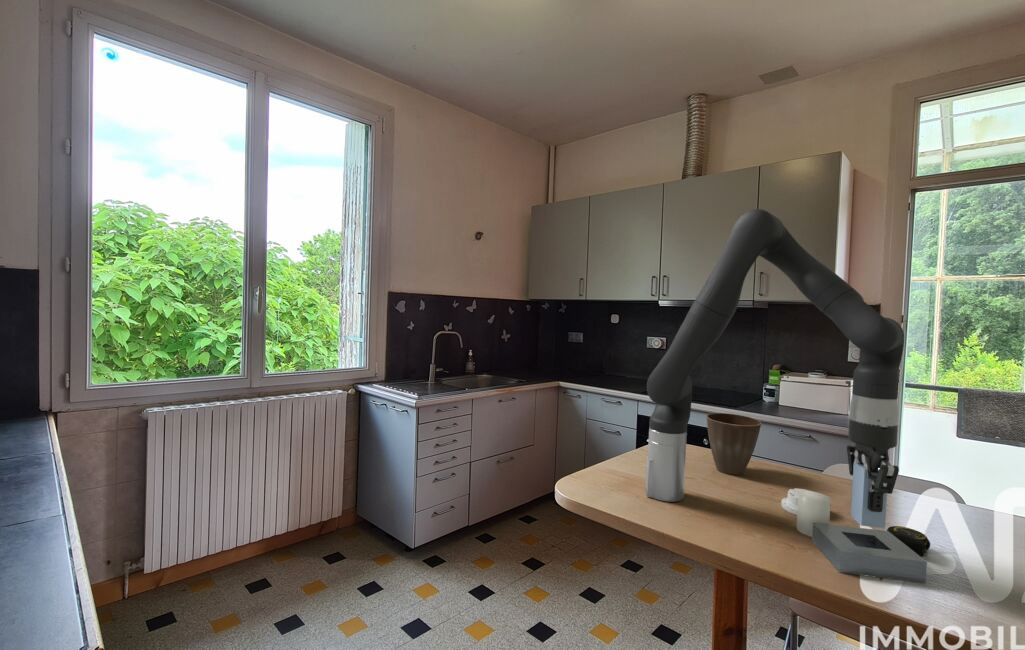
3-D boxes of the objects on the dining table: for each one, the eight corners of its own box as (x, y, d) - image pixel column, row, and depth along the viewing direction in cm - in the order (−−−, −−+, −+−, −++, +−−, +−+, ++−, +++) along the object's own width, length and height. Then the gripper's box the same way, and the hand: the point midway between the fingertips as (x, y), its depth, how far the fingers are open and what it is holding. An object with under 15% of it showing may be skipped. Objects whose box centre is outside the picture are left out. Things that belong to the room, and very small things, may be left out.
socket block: (839, 572, 87) (840, 551, 87) (811, 541, 99) (812, 522, 99) (925, 583, 85) (927, 561, 85) (886, 550, 96) (888, 531, 96)
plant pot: (764, 471, 142) (766, 419, 142) (750, 484, 131) (753, 428, 130) (713, 459, 152) (715, 410, 151) (696, 470, 141) (699, 418, 140)
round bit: (802, 536, 101) (804, 499, 101) (792, 523, 107) (794, 489, 107) (833, 539, 100) (835, 503, 100) (821, 527, 106) (823, 492, 106)
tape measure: (880, 547, 98) (881, 529, 98) (892, 538, 102) (893, 521, 102) (922, 562, 92) (923, 543, 92) (933, 552, 96) (934, 535, 96)
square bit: (861, 525, 90) (864, 469, 90) (850, 516, 94) (853, 462, 94) (884, 528, 89) (888, 471, 89) (873, 518, 93) (876, 464, 93)
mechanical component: (790, 517, 111) (836, 522, 109) (791, 499, 111) (838, 504, 109) (775, 500, 121) (818, 505, 119) (776, 483, 121) (819, 488, 119)
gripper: (834, 410, 99) (829, 490, 99) (871, 426, 85) (866, 520, 85) (874, 412, 97) (869, 494, 98) (919, 430, 83) (913, 524, 84)
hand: (868, 505), depth 92 cm, fingers closed on square bit, 4 cm apart
